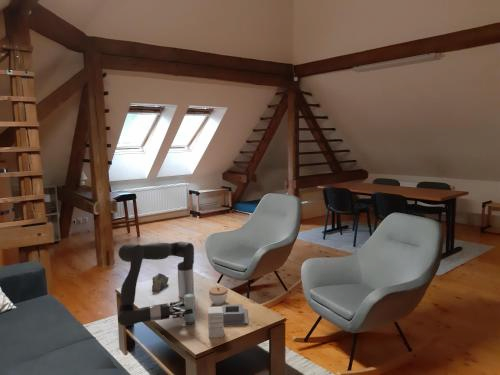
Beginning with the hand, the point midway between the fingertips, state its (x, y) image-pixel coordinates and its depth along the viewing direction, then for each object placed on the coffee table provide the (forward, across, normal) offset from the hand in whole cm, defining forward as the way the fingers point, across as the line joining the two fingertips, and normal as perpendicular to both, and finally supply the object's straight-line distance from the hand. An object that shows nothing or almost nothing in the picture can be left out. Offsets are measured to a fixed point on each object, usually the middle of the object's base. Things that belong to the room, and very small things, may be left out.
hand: (191, 307), depth 206 cm
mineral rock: (-11, +54, +9) cm, 56 cm away
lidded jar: (+19, +20, +9) cm, 28 cm away
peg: (-1, 0, +8) cm, 9 cm away
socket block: (+21, -2, +8) cm, 23 cm away
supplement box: (+10, -15, +9) cm, 20 cm away
